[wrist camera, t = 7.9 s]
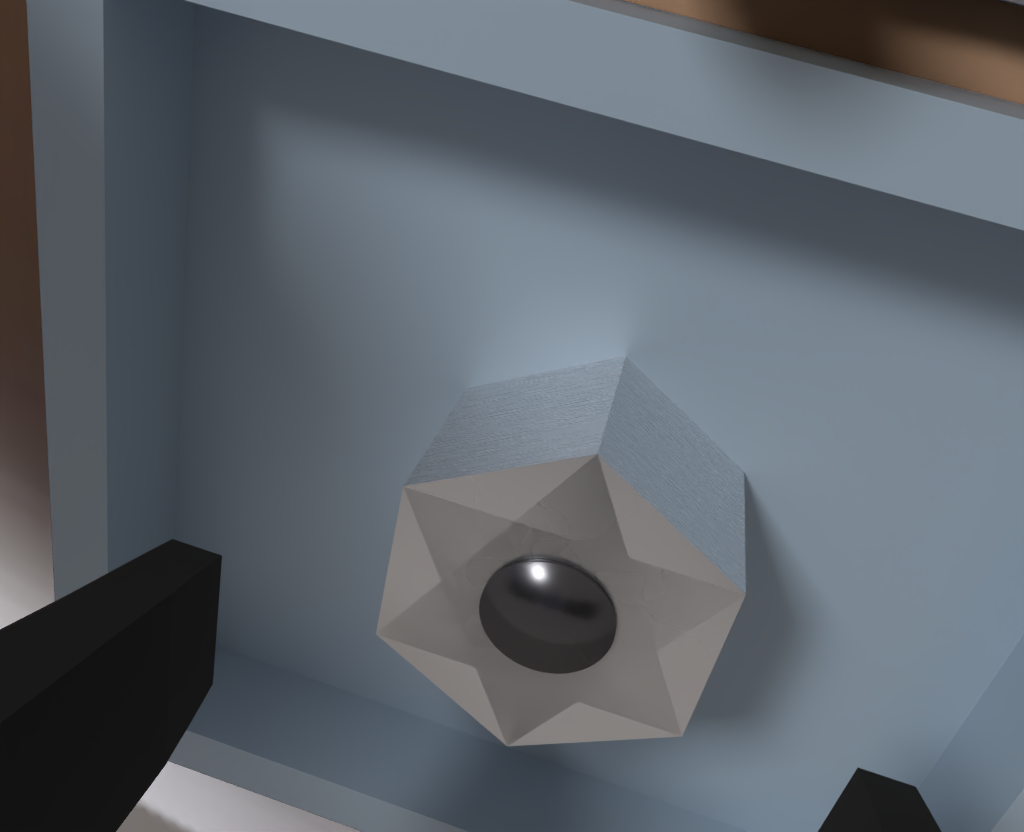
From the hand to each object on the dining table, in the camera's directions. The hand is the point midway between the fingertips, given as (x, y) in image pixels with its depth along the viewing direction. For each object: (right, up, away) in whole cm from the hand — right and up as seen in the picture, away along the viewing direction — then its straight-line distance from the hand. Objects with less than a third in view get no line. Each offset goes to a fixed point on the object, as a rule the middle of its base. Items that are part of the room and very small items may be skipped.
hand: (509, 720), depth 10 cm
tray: (+1, +2, +5) cm, 5 cm away
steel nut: (+1, +2, +4) cm, 5 cm away
